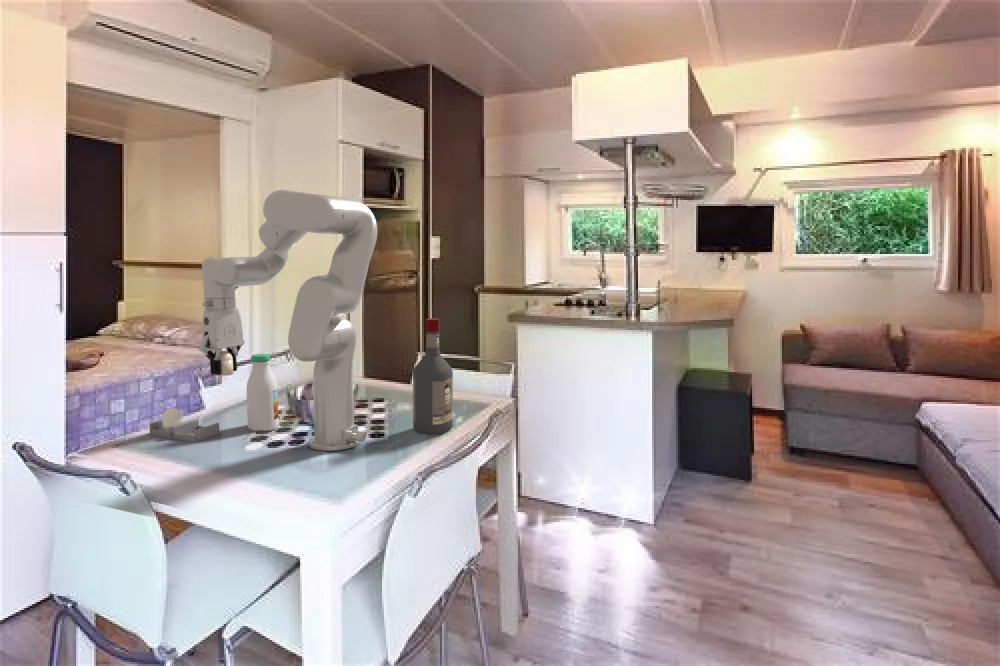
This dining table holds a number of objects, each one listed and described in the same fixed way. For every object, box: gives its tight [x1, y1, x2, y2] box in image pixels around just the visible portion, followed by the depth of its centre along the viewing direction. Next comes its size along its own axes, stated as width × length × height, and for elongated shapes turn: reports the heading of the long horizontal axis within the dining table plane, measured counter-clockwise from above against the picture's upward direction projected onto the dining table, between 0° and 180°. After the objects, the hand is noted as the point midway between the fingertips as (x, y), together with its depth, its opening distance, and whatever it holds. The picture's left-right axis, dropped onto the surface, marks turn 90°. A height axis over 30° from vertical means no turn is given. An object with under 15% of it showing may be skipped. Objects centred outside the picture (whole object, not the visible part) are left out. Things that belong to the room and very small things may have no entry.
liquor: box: [412, 317, 454, 436], centre depth 162 cm, size 9×9×30 cm
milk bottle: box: [246, 353, 280, 432], centre depth 162 cm, size 8×8×20 cm
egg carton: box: [148, 418, 220, 443], centre depth 155 cm, size 15×7×4 cm, turn 69°
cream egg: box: [161, 407, 184, 432], centre depth 156 cm, size 5×5×6 cm
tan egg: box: [215, 350, 234, 377], centre depth 163 cm, size 5×5×6 cm
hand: (224, 371), depth 163 cm, fingers closed on tan egg, 4 cm apart
